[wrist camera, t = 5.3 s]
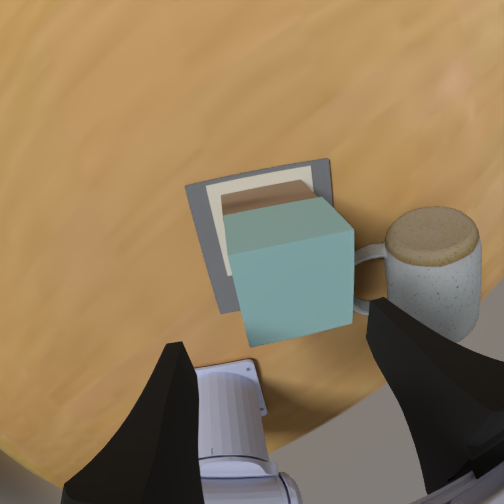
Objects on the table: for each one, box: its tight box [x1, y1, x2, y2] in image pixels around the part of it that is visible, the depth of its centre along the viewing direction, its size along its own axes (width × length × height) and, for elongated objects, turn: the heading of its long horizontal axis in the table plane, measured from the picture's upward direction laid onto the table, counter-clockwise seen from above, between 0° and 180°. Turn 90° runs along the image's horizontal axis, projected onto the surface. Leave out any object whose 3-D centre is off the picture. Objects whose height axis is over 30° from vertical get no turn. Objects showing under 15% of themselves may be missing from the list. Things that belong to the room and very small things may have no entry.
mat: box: [185, 158, 333, 314], centre depth 21 cm, size 10×9×1 cm
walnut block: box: [221, 179, 317, 222], centre depth 18 cm, size 5×5×4 cm
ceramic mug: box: [353, 206, 482, 343], centre depth 20 cm, size 11×8×8 cm
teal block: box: [223, 197, 354, 347], centre depth 15 cm, size 5×5×4 cm
